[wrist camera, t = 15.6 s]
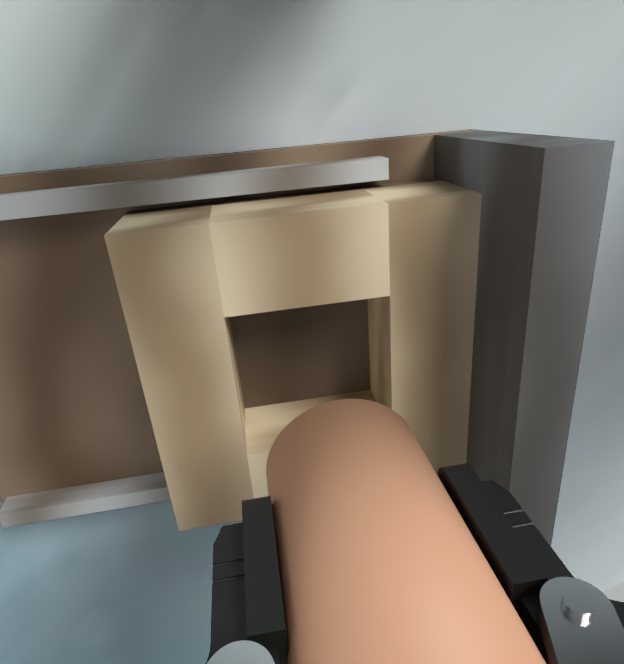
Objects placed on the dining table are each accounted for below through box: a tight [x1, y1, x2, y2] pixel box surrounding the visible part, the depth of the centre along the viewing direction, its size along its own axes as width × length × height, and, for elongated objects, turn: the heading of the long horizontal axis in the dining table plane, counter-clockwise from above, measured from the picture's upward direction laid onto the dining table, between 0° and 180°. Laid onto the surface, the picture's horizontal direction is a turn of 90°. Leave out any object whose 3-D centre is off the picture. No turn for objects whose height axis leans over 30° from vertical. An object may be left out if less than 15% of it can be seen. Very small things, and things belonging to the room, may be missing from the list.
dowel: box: [266, 399, 546, 664], centre depth 11 cm, size 4×4×8 cm
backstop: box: [0, 130, 614, 546], centre depth 20 cm, size 24×16×9 cm
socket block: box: [104, 178, 482, 531], centre depth 21 cm, size 13×13×4 cm
